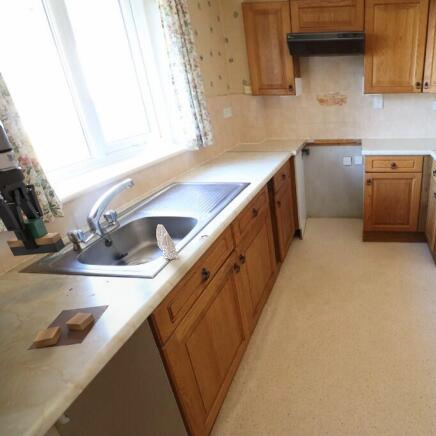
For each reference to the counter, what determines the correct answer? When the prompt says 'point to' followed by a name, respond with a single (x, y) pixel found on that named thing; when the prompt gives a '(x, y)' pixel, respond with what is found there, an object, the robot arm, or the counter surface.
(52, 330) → the tan flat block
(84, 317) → the tan wooden block
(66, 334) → the tray
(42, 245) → the brush
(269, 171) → the counter surface
